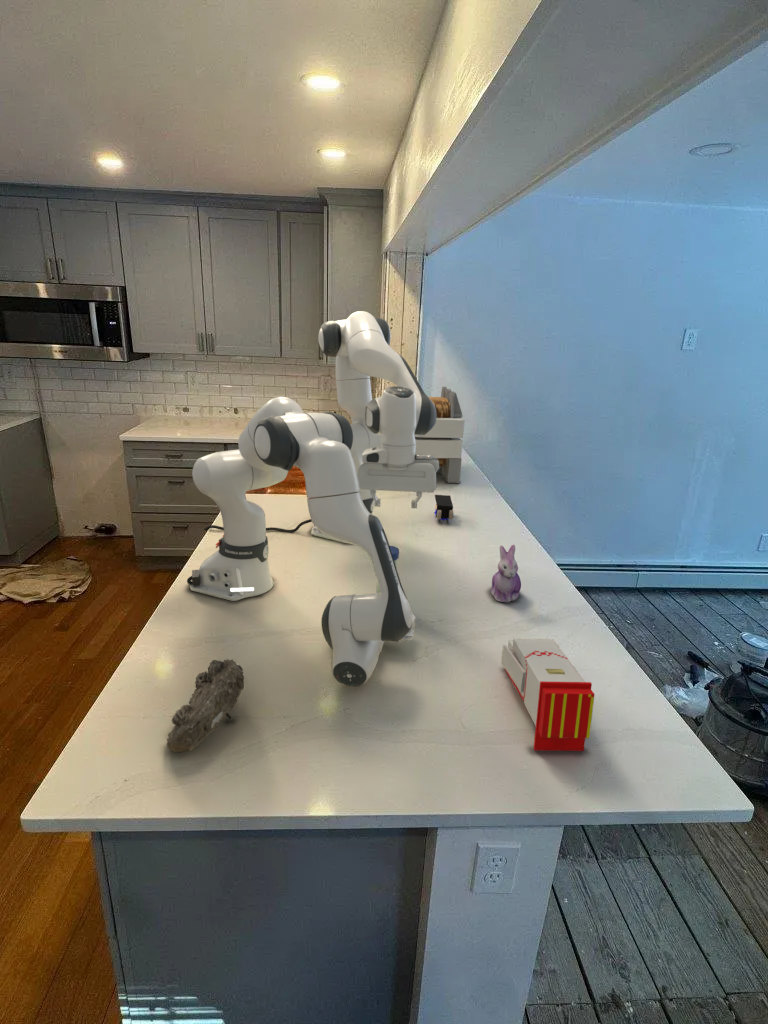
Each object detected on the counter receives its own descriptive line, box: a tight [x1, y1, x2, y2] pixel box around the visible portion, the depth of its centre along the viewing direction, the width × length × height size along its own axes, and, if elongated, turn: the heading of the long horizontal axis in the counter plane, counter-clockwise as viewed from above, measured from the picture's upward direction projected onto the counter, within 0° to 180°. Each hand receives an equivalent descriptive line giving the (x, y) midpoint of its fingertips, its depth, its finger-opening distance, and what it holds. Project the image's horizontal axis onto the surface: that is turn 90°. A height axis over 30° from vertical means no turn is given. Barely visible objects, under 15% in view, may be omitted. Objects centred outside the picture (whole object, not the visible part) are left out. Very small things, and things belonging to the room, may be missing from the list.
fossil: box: [166, 658, 245, 754], centre depth 106 cm, size 22×10×15 cm
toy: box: [500, 637, 595, 752], centre depth 114 cm, size 12×13×30 cm
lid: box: [389, 544, 400, 561], centre depth 147 cm, size 6×6×2 cm
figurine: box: [490, 544, 522, 603], centre depth 157 cm, size 9×10×15 cm
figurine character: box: [433, 494, 454, 524], centre depth 215 cm, size 7×8×15 cm
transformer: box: [414, 386, 465, 484], centre depth 268 cm, size 34×33×41 cm
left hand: (378, 605), depth 141 cm, fingers open, 8 cm apart
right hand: (395, 507), depth 145 cm, fingers open, 8 cm apart
